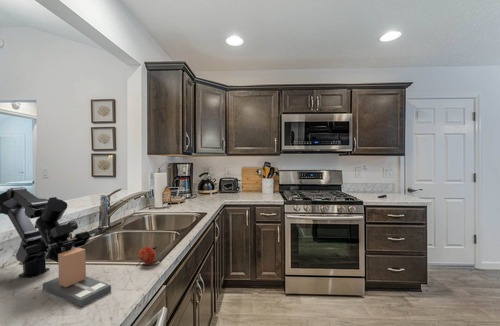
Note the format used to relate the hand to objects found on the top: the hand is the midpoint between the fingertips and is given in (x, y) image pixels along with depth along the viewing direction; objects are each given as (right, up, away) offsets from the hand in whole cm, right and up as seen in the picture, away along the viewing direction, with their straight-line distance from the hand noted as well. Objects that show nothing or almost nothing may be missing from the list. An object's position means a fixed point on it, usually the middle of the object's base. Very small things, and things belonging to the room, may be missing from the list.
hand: (68, 266), depth 79 cm
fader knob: (+2, -5, -1) cm, 5 cm away
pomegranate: (+19, -7, +17) cm, 26 cm away
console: (+4, -7, -2) cm, 8 cm away
